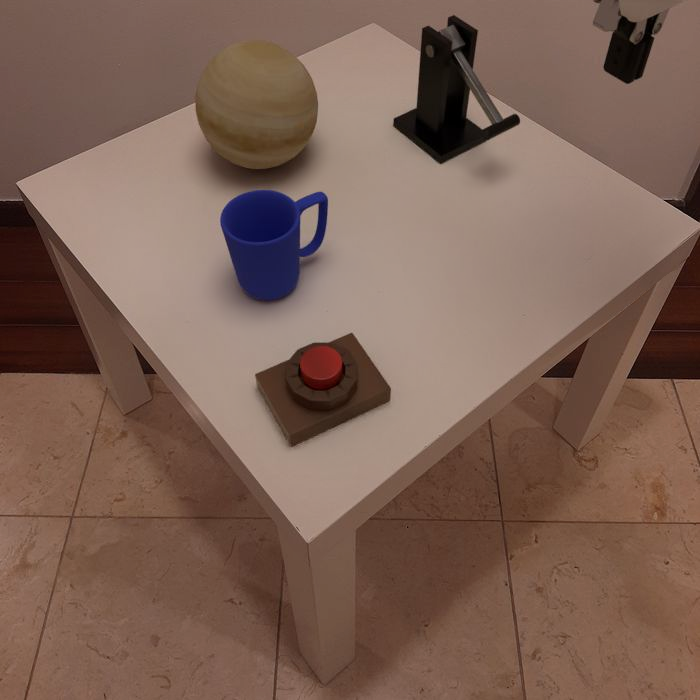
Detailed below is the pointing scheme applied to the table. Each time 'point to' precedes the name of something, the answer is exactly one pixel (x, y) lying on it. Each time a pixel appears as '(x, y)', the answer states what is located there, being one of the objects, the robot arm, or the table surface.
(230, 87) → the decorative ball
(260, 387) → the button block
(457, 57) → the switch lever
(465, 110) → the switch bracket
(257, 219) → the mug
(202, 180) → the table surface
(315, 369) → the power button
